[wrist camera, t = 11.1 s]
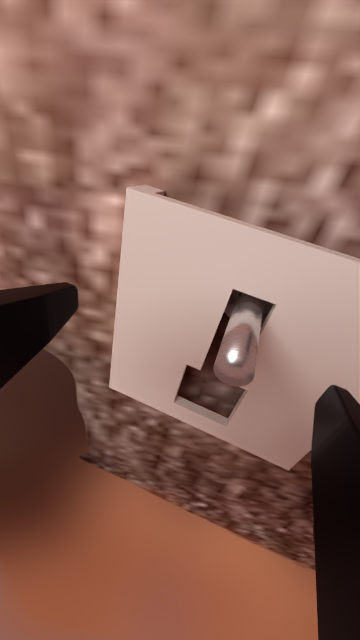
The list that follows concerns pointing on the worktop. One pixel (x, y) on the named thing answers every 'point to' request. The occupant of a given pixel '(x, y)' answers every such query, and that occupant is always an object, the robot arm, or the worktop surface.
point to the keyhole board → (206, 312)
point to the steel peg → (241, 339)
